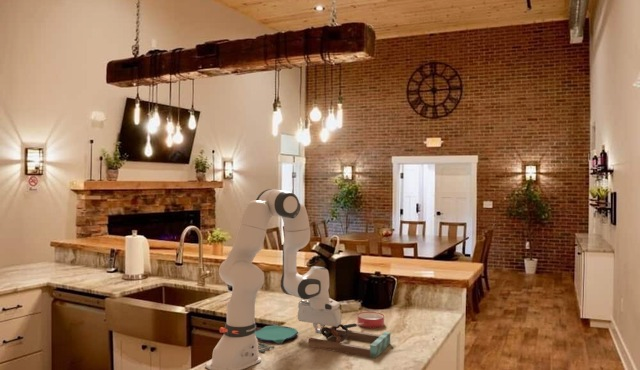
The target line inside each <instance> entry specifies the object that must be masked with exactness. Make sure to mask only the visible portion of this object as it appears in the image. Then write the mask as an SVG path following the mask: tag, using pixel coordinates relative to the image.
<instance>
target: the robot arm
mask: <svg viewBox="0 0 640 370" xmlns="http://www.w3.org/2000/svg"><path fill="white" fill-rule="evenodd" d="M306 208H307V207H306V206H305V205H304V204H303V203H301V202H300V201H299V198H298V196H297V195H296V194H295V193H293V192H291V191H288V190H282V189H270V188H269V189H265V190H263V191H261V192H260V193H259V195H258V196H257V198H256V199H254V200H251V201H249V202H248V203H247V204H246V207H245V209H244V211H243V214H242V215H241V219H240V223H239V225H238V230H237V233H236V237H235V240H234V243H233V245H232V247H231V249H230V251H229V253H228V255H227V257H226V258H225V259H224V260H223V261H222V262H221V263H220V265H219V268H218V275H219V277H220V279H221V280H222V281H223V282H224V283H225V284H226V285H229V286H231V287H232V291H231V295H230V298H229V300H228V302H227V304H226V322H225V325H224V327H223V326H222V327H220V328H219V333H221V334H222V333H223V335H222V336H221V338H220V339H219V341H218V342H217V344H216V345H215V347H214V348H213V349H212V350H213V351H212V354H211V355H212V357H211V359H210V360H209V361H207V362H206V363H205V368H207V369H208V370H245V369H247V368H249V367H252V366H253V365H257V364H258V363H261V361H262V357H260V354H259V353H260V352H258V349H259V347H258V346H259V344H258V343H259V342H258V341H259V339H257V338H256V335H255V331H256V330H257V323H256V321H255V315H256V314H255V311H256V300H257V296H258V293H259V291H260V289H261V288H262V287H263V285H264V283H265V273H264V272H263V270H262V269H261V268H260V267H258V265H256V264H254V263H253V261H254V259H255V257H256V256H257V254H258V253H259V252H261V250H262V248H263V246H264V241H265V238H266V233H267V230H268V225H269V221H270V220H271V218H272V217H273V216H274V217H281V220H282V221H283V233H284V241H283V243H282V274H281V277H280V288H281V290H282V292H283V293H285V294H286V295H289V296H293V297H296V298H299V299H300V301H299V302H298V306H297V308H298V312H297V320H298V321H299V322H304V323H309V324H310V323H311V324H312V326H313V328H314V330H315V334H320V335H322V333H321V330H322V328H324V327H326V326H327V327H332V326H335V327H337V326H339V325H340V324H342V314H341V313H342V312H341V309H340V302H338V301H336V300H334V299H332V298H331V297H330V294H329V289H330V273H329V270H328V269H327V268H325V267H324V266H318V265H312V266H311V267H310V269H309V270H308V271H307V272H306V273H304V274H300V273H299V272H298V269H297V268H298V267H297V255H298V252H299V250H302V249H304V248H305V247H307V245H308V244H309V243H310V240H311V228H310V220H309V216H308V212H307V209H306ZM301 299H302V300H301ZM318 325H319V326H320V328H319V326H318Z"/></svg>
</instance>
